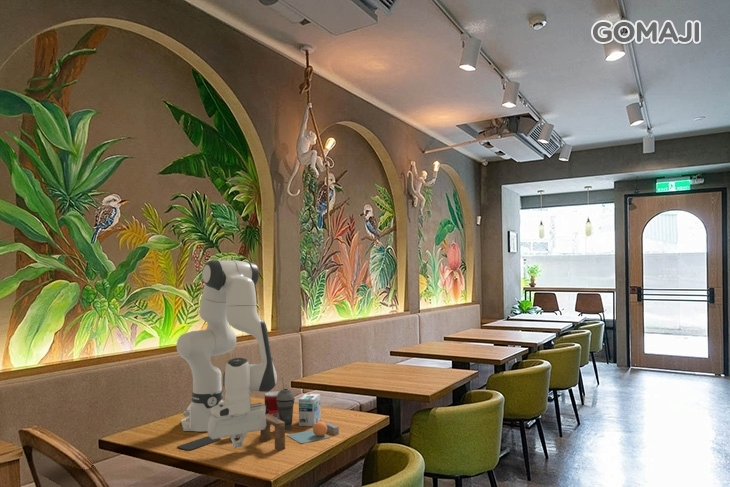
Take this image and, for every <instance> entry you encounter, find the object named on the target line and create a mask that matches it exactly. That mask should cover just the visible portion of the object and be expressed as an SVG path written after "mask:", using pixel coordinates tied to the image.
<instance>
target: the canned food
mask: <svg viewBox="0 0 730 487" xmlns="http://www.w3.org/2000/svg"><path fill="white" fill-rule="evenodd" d="M280 391H281V390H279V391H278V390H277V391H276V390H274V391H269V392H265V393H264V405H265V407H266V412H265V414H270V415H271V416H273V417H275V418H277V419H279V416H278V406H277V401H276V399H277V395H278V393H279V392H280Z"/></svg>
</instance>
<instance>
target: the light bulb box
mask: <svg viewBox="0 0 730 487" xmlns="http://www.w3.org/2000/svg"><path fill="white" fill-rule="evenodd" d="M321 396H322V395H321V393H305V394H303V395H302V396H301V397H300V398H298V425H299V426H298V427H300V426H301V427H313V426H314V424H315V423H317V422H320V421H321V420H322V414H321V413H322V410H321V409H322V406H321V405H322V403H321V400H322V399H321Z"/></svg>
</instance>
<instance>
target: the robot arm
mask: <svg viewBox="0 0 730 487" xmlns="http://www.w3.org/2000/svg"><path fill="white" fill-rule="evenodd" d="M201 277H202V278H201V279H202V282H203V284H204V287H203V291H202V294H201V300H200V306H199V311H198V314H199V316H200V318H201V319H202V321H204V322H206V323H207V327H206V329H199V330H191V331H189V332H185V333H183V334H181V335H180V336H178V338H177V341H176V351H177V353H178V354H177V355H179V357H181V358H182V359H184V360H185V361H186V362H187V364H188V365H189V367H190V370H191V373H192V392H191V399H190V400H191V403H190V404H189V405H188V407H187V408H186V410H184V411H183V417H185V418H182V419H180V420H181V421H180V422H181V423H180V425H181V426H182V430H183V431H184V432H199V433H200V432H207V436H209V437H210V438H211V439H218V438H220V439H222V438H227V437H229V439H230V440H231V441H232V448H234V449H236V448H237V449H238V448H242V447H244V446H243V445H244V444H243V443H244V441H245V438H246V436H247V434H248V433H253V432H257V431H260V430H264V429H265V427H266V417H265V412H266V407H265V403H262V402H257V403H251V398H252V396H251V392H260V393H261V392H265V393H267V392H271V390H272V389H274V388H275V386H276V385H277V382H278V375H277V371H276V368H275V364H274V359H273V354H272V347H271V343H270V338H269V337H270V336H269V332H268V327H267V324H266V322H265V320H264V319H262V318H260V317H261V316H259V313H258V311H257V293H256V287H255V286H256V285H257V283H258V282H259V279H260V272H259V268H258V266H257V264H256V263H253V262H250V261H241V260H236V259H234V260H233V259H231V260H227V259H226V260H218V259H213V260H209V261H207V262H206V263H205V264H204V265H203V268H202V272H201ZM229 325H230V326H231V327H232V328H234V329H235V330H237V331H240V332H242V333H246V334H248V335H251V336H252V337H254V338H255V339H256V341H257V342H258V347H259V352H260V359H261V362H260V363H253V364H252V363H251V364H249V360H248V359H247V358H243V357H235V358H231V359H229V360H228V361H226V365H225V370H224V372H222V371H221V369H220V368H219V367H217V366H216V365H214V364H212V360H211V357H216V356H220V355H225V354H227V353H230V352H231V351H233V350H234V349H235V347H236V346H237V335H236V333H235V332H234V331H233V329H231V327H230V326H229ZM222 373H223V375H222ZM222 378H223V379H222ZM222 384H223V387H222ZM222 388H224V389H225V394H224V393H223V389H222ZM223 396H224V397H223ZM223 399H224V400H223ZM238 434H240V435H241V437H240V438H238V439H239V440H237V441H236V439H237V438H236V435H238Z"/></svg>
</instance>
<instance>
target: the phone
mask: <svg viewBox="0 0 730 487" xmlns="http://www.w3.org/2000/svg"><path fill="white" fill-rule="evenodd" d="M221 440H222V438H218V439H211V438H210V437H209V436H208V435H207V436H204V437H201V438H198V439H195V440H192V441H189V442H185V443H183V444H180V445H178V446H177V447H176V449H179V450H182V451H186V452H191V451H194V450H197V449H201V448H203V447H205V446H208V445H210V444H214V443H217V442H219V441H221Z"/></svg>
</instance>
